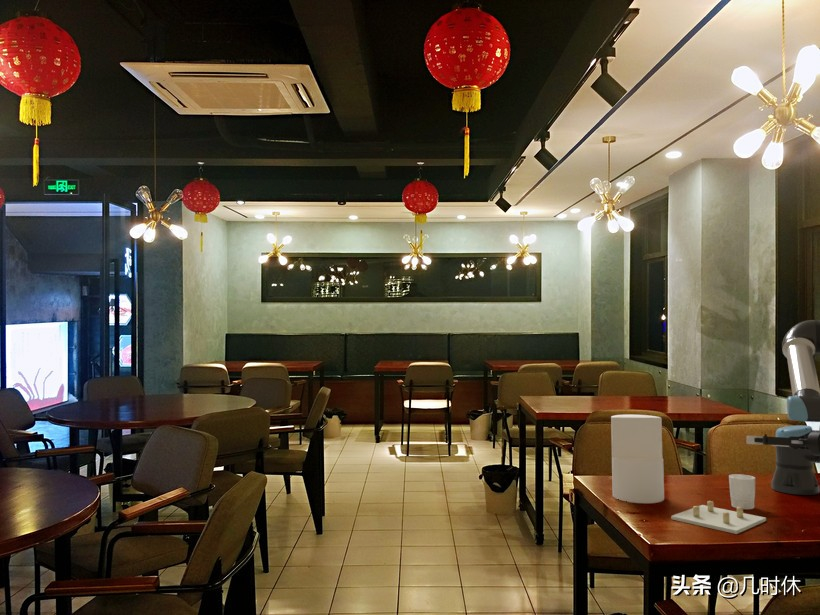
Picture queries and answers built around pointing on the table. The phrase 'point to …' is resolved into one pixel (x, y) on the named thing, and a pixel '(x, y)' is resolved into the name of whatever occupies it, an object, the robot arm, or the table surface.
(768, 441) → the robot arm
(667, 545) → the table surface
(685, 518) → the standoff plate
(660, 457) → the cylinder
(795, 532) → the table surface
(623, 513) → the table surface
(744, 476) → the white cup
